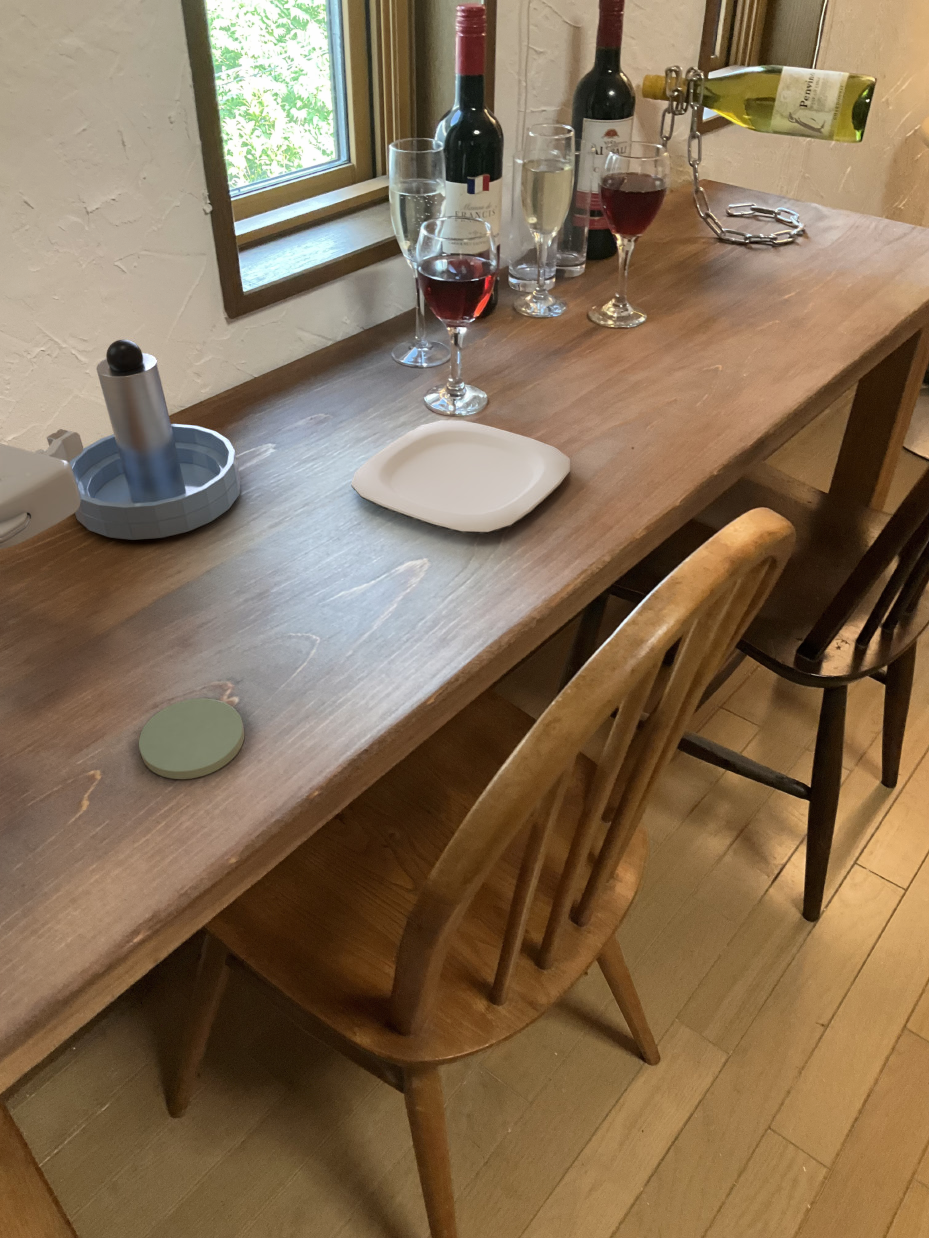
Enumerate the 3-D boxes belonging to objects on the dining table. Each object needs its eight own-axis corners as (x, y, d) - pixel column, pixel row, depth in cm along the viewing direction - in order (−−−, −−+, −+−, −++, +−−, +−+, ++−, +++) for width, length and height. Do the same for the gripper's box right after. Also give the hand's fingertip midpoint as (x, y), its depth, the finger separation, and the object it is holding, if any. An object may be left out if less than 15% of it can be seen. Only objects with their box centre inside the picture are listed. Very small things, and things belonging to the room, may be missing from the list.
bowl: (88, 561, 83) (76, 523, 81) (66, 480, 94) (55, 444, 91) (259, 520, 88) (253, 482, 86) (220, 447, 99) (213, 412, 96)
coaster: (151, 793, 63) (148, 784, 62) (132, 724, 68) (130, 716, 67) (256, 759, 65) (254, 751, 64) (230, 694, 70) (228, 686, 69)
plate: (437, 424, 102) (437, 409, 101) (589, 469, 94) (590, 453, 93) (329, 500, 90) (328, 484, 89) (493, 559, 83) (493, 542, 82)
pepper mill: (136, 513, 88) (94, 357, 79) (127, 487, 92) (86, 335, 82) (190, 500, 90) (156, 346, 80) (179, 476, 93) (145, 325, 84)
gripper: (-33, 510, 59) (122, 414, 68) (-246, 446, 66) (-79, 367, 75) (1, 592, 63) (143, 491, 72) (-204, 523, 70) (-51, 439, 79)
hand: (28, 427), depth 74 cm, fingers open, 8 cm apart
